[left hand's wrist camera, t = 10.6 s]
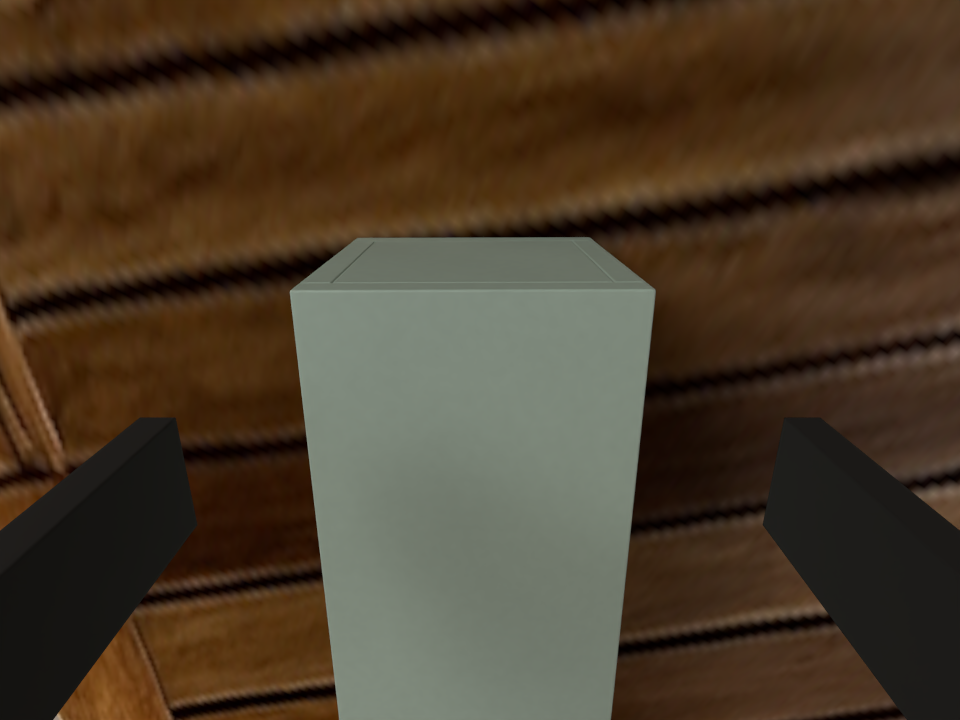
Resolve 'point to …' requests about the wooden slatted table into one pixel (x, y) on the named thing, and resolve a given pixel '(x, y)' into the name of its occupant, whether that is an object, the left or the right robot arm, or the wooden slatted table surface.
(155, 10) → the wooden slatted table surface
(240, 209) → the wooden slatted table surface
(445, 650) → the cabinet
